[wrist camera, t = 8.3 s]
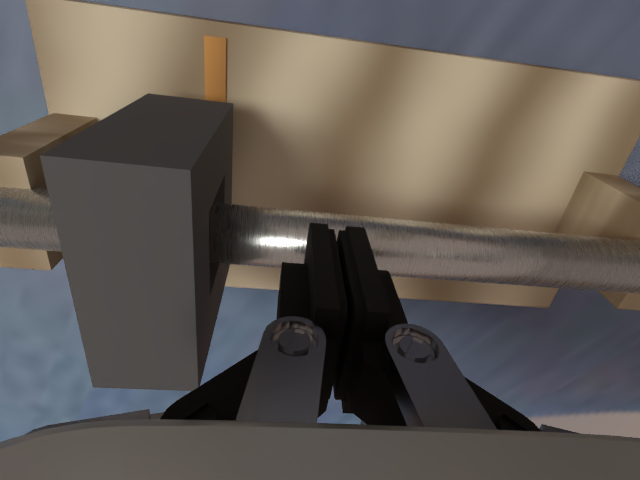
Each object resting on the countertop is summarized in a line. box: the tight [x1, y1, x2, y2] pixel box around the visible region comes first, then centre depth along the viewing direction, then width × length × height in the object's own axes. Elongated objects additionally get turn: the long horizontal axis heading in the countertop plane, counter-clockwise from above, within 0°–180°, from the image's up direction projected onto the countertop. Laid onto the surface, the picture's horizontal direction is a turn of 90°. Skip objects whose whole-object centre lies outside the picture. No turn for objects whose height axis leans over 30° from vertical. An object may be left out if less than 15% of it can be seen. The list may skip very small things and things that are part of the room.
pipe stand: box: [0, 0, 640, 310], centre depth 17 cm, size 25×12×6 cm, turn 83°
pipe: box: [0, 187, 640, 294], centre depth 14 cm, size 24×2×2 cm, turn 83°
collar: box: [40, 93, 233, 391], centre depth 13 cm, size 3×7×7 cm, turn 173°
